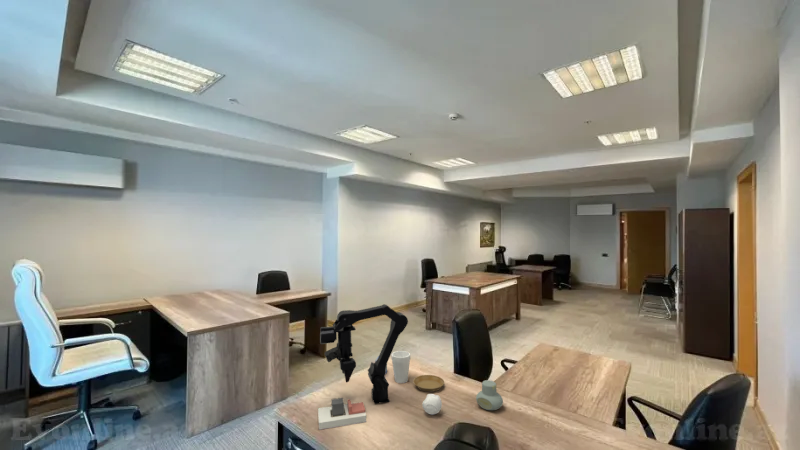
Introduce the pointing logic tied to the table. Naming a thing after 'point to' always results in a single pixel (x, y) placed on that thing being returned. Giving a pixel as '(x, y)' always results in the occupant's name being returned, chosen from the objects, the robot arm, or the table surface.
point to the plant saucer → (428, 383)
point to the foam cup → (400, 365)
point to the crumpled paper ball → (432, 404)
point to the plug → (337, 407)
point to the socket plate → (338, 418)
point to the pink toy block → (355, 407)
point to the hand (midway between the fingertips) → (345, 377)
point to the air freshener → (489, 396)
